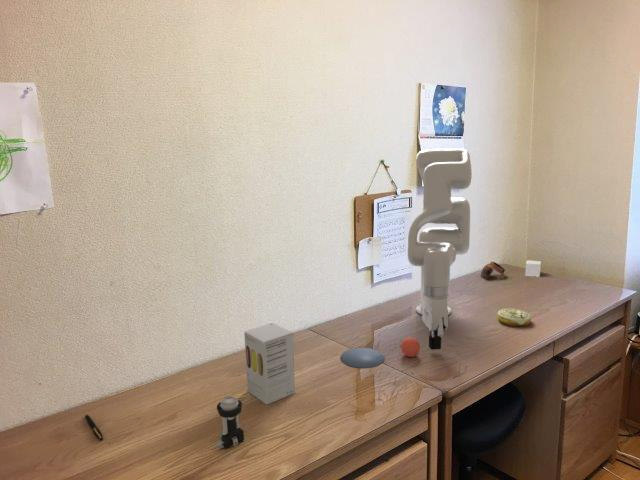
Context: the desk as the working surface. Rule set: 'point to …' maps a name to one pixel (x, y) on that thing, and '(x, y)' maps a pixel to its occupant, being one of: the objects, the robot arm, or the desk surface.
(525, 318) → the decorated donut
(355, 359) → the disc
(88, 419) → the fountain pen
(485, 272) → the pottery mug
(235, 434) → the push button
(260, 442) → the desk surface
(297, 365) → the desk surface
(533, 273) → the white cube
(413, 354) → the ball
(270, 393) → the supplement box
